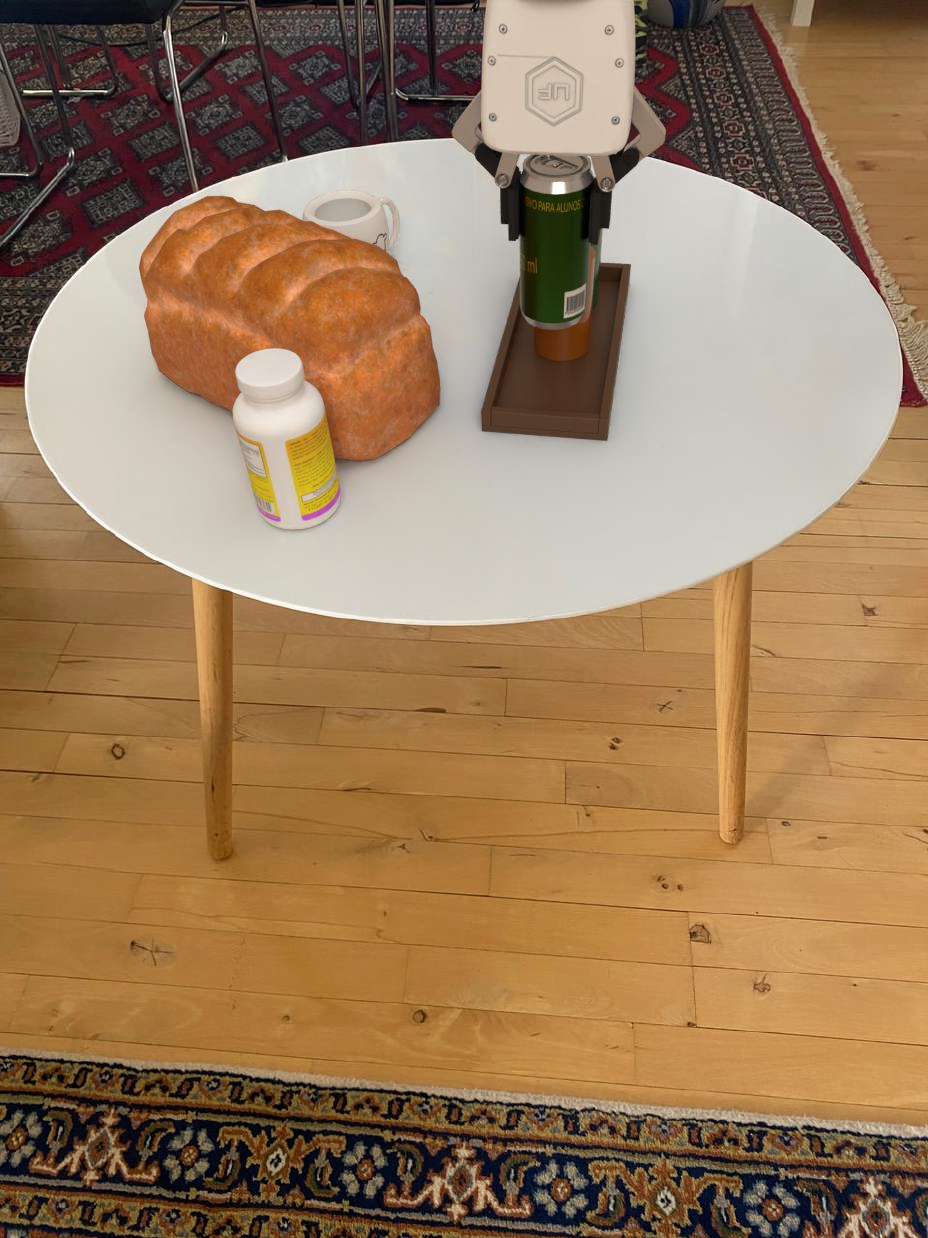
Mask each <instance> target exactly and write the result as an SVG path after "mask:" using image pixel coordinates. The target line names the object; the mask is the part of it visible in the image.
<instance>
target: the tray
mask: <svg viewBox="0 0 928 1238" xmlns="http://www.w3.org/2000/svg"><path fill="white" fill-rule="evenodd" d="M631 271H632V264H631V263H622V262H621V263H620V262H603V261H601V265H600V282H599V298H598V303H597V305H596V306H595V307H594V308H593V309H592V324H591V342H590V349H589V351H588V352H587V353H586V354H585V355H584V356H582V357H580V358H578V359H575V360H570V361H553V360H549V359H546V358H544V357H542V356H540V355H539V354H538V353H537V352H536V351H535V349H534V326H533V325H531V324H530V323H528V322H527V320H526V319H525V318H524V316H523V314H522V312H521V308H520V276H519V277H518V279H517V280H518V281H517V284H516V287H515V291H514V295H513V298H512V302H511V305H510V308H509V312H508V315H507V319H506V322H505V325H504V329H503V332H502V336H501V340H500V344H499V347H498V351H497V354H496V358H495V361H494V365H493V367H492V368H493V369H492V372H491V375H490V379H489V382H488V386H487V389H486V391H485V396H484V399H483V403H482V407H481V410H480V416H481V420H480V421H481V431H482V432H489V433H501V434H502V433H503V434H516V435H527V436H540V437H541V436H542V437H555V438H568V439H579V440H580V439H581V440H594V441H608V437H609V431H610V425H611V418H612V417H611V416H612V410H613V402H614V395H615V388H616V381H617V374H618V368H619V367H618V366H619V359H620V355H621V354H620V353H621V346H622V338H623V331H624V324H625V317H626V311H627V303H628V297H629V289H630V281H631Z"/></svg>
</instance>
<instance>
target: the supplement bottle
mask: <svg viewBox="0 0 928 1238" xmlns="http://www.w3.org/2000/svg"><path fill="white" fill-rule="evenodd" d="M235 373H236V378H237V383H238V388H239V390H240V391H241V393H240V394H239V396H238V397H237V399H236V401H235V403H234V406H233V413H232V421H233V424H234V425H233V426H234V428H235V431H236V436H237V438H238V442H239V443H238V444H239V445H240V449H241V453H242V456H243V457H242V458H243V459H244V464H245V469H246V471H247V474H248V475H247V476H248V480H249V483H250V486H251V489H252V494H253V497H254V500H255V504H256V507H257V510H258V512H259V514H260V516H261V517H262V518H263V519H264V520H265V521H266V522H267V523H269V525H272V526H274V527H276V528H279V529H283V530H293V531H294V530H295V531H296V530H303V529H304V530H305V529H309V528H312V527H316V526H318V525H320V524H322V523H324V522H326V521H327V520H328V519H329V518H331V517H332V516H333V515H334V513H335V512H336V511H337V510H338V508H339V506H340V504H341V500H342V499H341V498H342V493H341V491H342V490H341V486H340V479H339V474H338V469H337V464H336V459H335V457H334V453H333V448H332V443H331V438H330V433H329V427H328V422H327V417H326V412H325V407H324V403H323V399H322V396H321V394H320V393H319V391H318V390H317V389H316V388H315V387H314V386H313V385H312V384H310V383H309V382H307V381H305V380H304V376H305V375H304V370H303V365H302V362H301V359H300V358H299V356H298V355H297V354H295V353H294V352H291V351H289V350H285V349H278V348H273V349H264V350H260V351H256V352H254V353H251V354H249V355H247V356H246V357H244V358H243V359H242V360H241V361H240V362H239V363H238V365H237V366H236V371H235Z"/></svg>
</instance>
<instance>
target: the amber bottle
mask: <svg viewBox="0 0 928 1238" xmlns="http://www.w3.org/2000/svg"><path fill="white" fill-rule="evenodd" d="M594 271H595V250H594V248H593V247H592V246H591V245H590V262H589V281H588V301H587V308H586V311H585V313H584V315H583V317H582V319H581V320H580V321H579V322H578V323H577V324H575V325H573V326H571V327H568V328H564V329H557V330H548V329H541V328H538V327H535V326H534V349H535V351H536V352H537V353H538V354H539V355H540V356H542V357H544V358H546V359H549V360H553V361H570V360H575V359H578V358H580V357H582V356H584V355H585V354H586V353H587V352H588V351H589V349H590V342H591V324H592V306H593V289H594Z"/></svg>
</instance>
